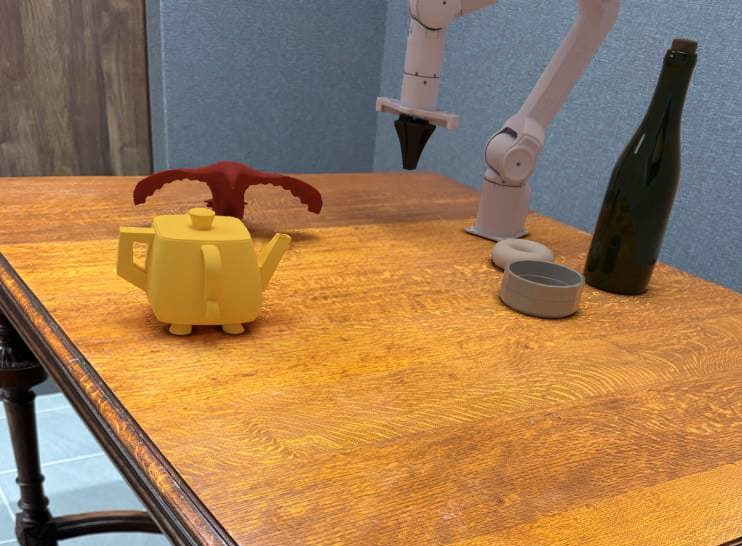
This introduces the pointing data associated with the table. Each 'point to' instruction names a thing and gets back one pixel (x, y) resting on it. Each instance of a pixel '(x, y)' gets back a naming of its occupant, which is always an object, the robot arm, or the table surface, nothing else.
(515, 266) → the pan
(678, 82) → the wine bottle
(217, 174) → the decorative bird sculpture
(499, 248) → the donut
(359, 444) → the table surface
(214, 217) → the teapot
